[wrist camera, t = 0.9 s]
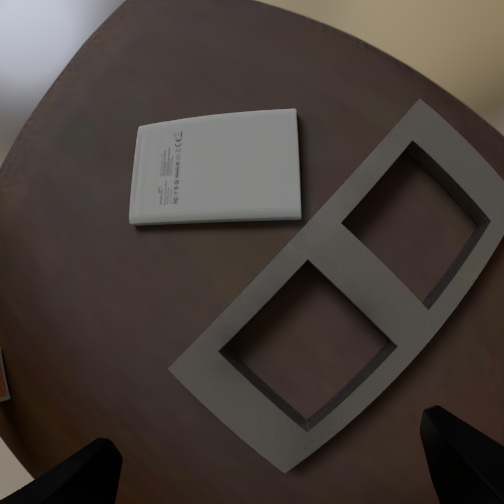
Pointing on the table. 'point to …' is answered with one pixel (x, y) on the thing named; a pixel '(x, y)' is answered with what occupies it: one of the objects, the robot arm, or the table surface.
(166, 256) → the table surface
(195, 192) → the external hard drive
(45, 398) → the table surface
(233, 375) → the grey flat frame
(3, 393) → the skincare box
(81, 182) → the table surface
